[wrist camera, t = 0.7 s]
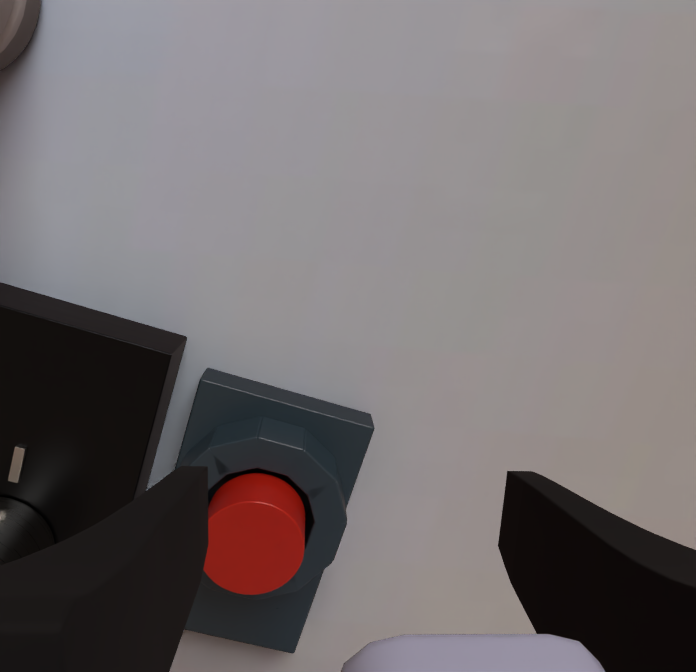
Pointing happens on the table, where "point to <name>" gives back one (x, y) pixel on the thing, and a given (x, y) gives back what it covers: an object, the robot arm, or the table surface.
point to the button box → (287, 464)
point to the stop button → (254, 534)
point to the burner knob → (21, 531)
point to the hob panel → (79, 407)
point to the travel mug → (16, 27)
